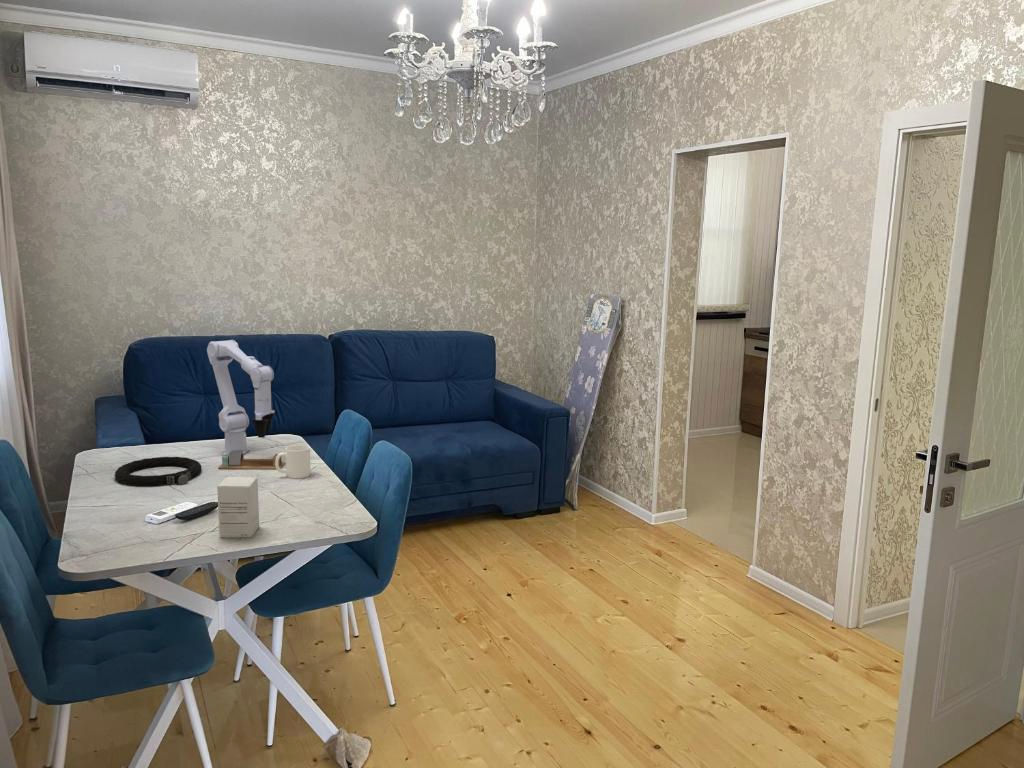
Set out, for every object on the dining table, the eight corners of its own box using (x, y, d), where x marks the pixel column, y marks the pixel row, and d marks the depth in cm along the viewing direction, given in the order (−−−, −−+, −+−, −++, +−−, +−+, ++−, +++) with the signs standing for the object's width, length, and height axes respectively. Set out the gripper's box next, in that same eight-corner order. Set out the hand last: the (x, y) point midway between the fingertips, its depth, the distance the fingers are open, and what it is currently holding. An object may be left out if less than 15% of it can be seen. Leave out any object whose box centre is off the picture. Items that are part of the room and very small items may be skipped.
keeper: (232, 462, 277) (232, 450, 276) (243, 462, 277) (243, 450, 276) (229, 465, 272) (228, 453, 271) (240, 465, 273) (240, 453, 272)
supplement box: (228, 526, 216) (226, 476, 213) (260, 526, 216) (258, 476, 214) (218, 538, 207) (216, 485, 204) (251, 538, 207) (249, 486, 205)
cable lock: (175, 451, 280) (221, 466, 262) (176, 461, 281) (221, 476, 263) (98, 466, 258) (142, 483, 241) (99, 476, 259) (143, 495, 241)
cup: (313, 477, 264) (312, 449, 263) (278, 481, 258) (277, 452, 257) (306, 471, 271) (306, 443, 270) (273, 475, 265) (272, 447, 264)
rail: (224, 463, 278) (224, 452, 277) (285, 463, 280) (285, 452, 279) (218, 469, 270) (217, 458, 270) (280, 469, 272) (280, 458, 271)
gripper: (269, 403, 270) (270, 439, 273) (278, 395, 285) (279, 430, 287) (249, 402, 270) (250, 439, 272) (259, 395, 284) (260, 430, 286)
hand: (263, 434), depth 280 cm, fingers open, 7 cm apart
